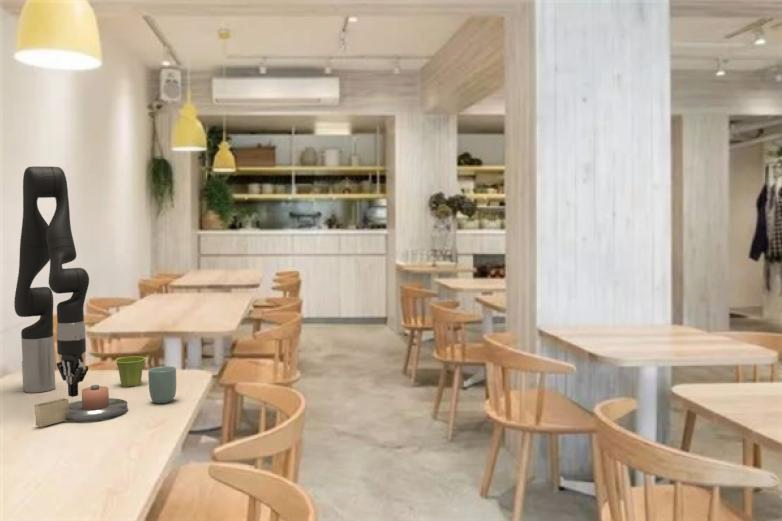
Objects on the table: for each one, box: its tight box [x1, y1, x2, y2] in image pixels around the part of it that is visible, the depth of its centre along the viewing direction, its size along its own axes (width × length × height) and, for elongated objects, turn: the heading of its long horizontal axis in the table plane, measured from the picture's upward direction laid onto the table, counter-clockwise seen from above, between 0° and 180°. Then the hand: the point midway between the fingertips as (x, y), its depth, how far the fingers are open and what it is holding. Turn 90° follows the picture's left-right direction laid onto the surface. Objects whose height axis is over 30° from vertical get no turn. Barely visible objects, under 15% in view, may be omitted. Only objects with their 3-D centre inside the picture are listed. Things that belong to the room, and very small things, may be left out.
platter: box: [34, 397, 128, 428], centre depth 196 cm, size 18×25×6 cm
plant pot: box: [114, 355, 146, 388], centre depth 233 cm, size 9×9×9 cm
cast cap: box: [81, 384, 110, 410], centre depth 198 cm, size 7×7×6 cm
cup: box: [147, 365, 177, 404], centre depth 211 cm, size 8×8×10 cm
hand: (73, 395), depth 205 cm, fingers closed
